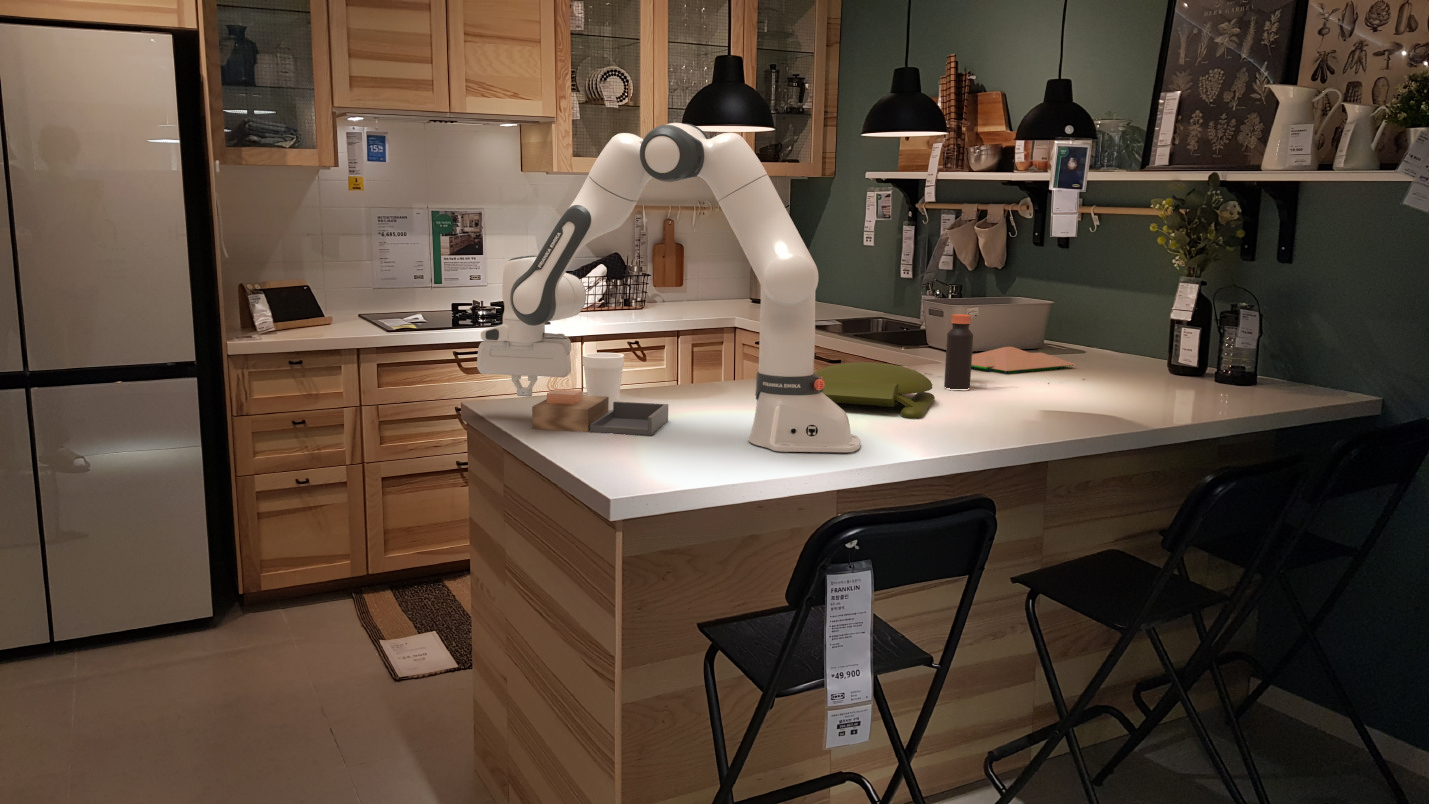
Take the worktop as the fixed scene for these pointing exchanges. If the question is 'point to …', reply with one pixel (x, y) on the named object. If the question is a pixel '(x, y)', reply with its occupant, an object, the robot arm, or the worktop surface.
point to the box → (632, 419)
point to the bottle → (959, 353)
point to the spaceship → (877, 386)
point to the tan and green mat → (1015, 360)
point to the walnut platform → (569, 414)
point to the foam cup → (603, 375)
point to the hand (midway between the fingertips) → (524, 396)
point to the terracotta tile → (564, 396)
